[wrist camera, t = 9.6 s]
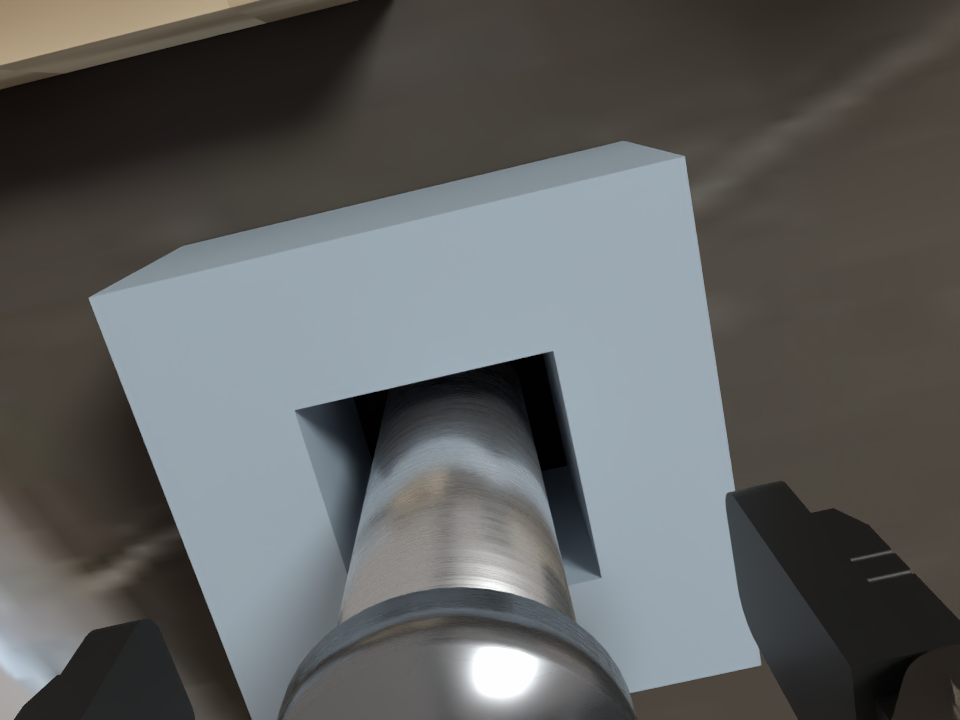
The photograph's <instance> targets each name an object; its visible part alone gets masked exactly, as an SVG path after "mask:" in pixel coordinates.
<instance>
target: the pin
mask: <svg viewBox="0 0 960 720" xmlns="http://www.w3.org/2000/svg"><path fill="white" fill-rule="evenodd" d="M277 720H637V716H636V713H635V710H634V706H633V703H632V699H631V696H630V693H629V689H628V686H627V684H626V682H625V680H624V678H623V676H622V674H621V672H620V670H619V668H618V667H617V665H616V664H615V662H614V661H613V659H612V658H611V656H610V655H609V653H608V652H607V651H606V650H605V649H604V648H603V646H602V645H601V644H600V643H599V642H598V641H597V640H596V639H595V638H594V637H593V636H592V635H591V634H590V633H588V632H587V631H586V630H585V629H584V628H582V627H581V626H580V625H579V624H577V622H576V618H575V613H574V609H573V605H572V601H571V596H570V592H569V588H568V584H567V579H566V575H565V571H564V567H563V562H562V558H561V554H560V550H559V545H558V541H557V537H556V533H555V528H554V524H553V520H552V516H551V511H550V507H549V503H548V499H547V494H546V490H545V486H544V482H543V477H542V473H541V469H540V465H539V460H538V456H537V452H536V448H535V443H534V439H533V435H532V431H531V426H530V422H529V418H528V414H527V409H526V405H525V401H524V397H523V392H522V388H521V384H520V381H519V378H518V375H517V373H516V371H515V369H514V368H513V366H512V364H511V363H510V362H509V361H507V362H502V363H498V364H494V365H489V366H485V367H481V368H476V369H472V370H468V371H463V372H459V373H455V374H450V375H446V376H441V377H437V378H433V379H428V380H424V381H420V382H415V383H411V384H407V385H402V386H398V387H394V388H389V391H388V395H387V400H386V404H385V409H384V413H383V418H382V422H381V427H380V431H379V436H378V440H377V445H376V450H375V454H374V459H373V463H372V468H371V472H370V477H369V481H368V486H367V490H366V495H365V499H364V504H363V508H362V513H361V517H360V522H359V526H358V531H357V535H356V540H355V544H354V549H353V553H352V558H351V562H350V567H349V572H348V576H347V581H346V585H345V590H344V594H343V599H342V603H341V608H340V612H339V617H338V621H337V626H336V628H334V629H333V630H332V631H330V632H329V633H328V634H327V635H326V636H325V637H324V638H323V639H322V640H321V641H320V642H319V643H318V644H317V645H316V646H315V647H313V648H312V650H311V651H310V652H309V653H308V655H307V656H306V657H305V659H304V660H303V661H302V663H301V664H300V665H299V667H298V668H297V670H296V672H295V674H294V676H293V677H292V679H291V681H290V683H289V685H288V687H287V690H286V693H285V695H284V698H283V701H282V704H281V707H280V711H279V714H278V718H277Z"/></svg>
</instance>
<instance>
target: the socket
mask: <svg viewBox="0 0 960 720" xmlns="http://www.w3.org/2000/svg"><path fill="white" fill-rule="evenodd" d="M89 301H90V303H91V306H92V308H93V311H94V313H95V316H96V319H97V321H98V324H99V326H100V329H101V332H102V334H103V337H104V339H105V342H106V344H107V347H108V350H109V352H110V355H111V357H112V360H113V362H114V365H115V368H116V370H117V373H118V375H119V378H120V381H121V383H122V386H123V388H124V391H125V393H126V396H127V399H128V401H129V404H130V406H131V409H132V411H133V414H134V417H135V419H136V422H137V424H138V427H139V430H140V432H141V435H142V437H143V440H144V442H145V445H146V448H147V450H148V453H149V455H150V458H151V460H152V463H153V466H154V468H155V471H156V473H157V476H158V479H159V481H160V484H161V486H162V489H163V491H164V494H165V497H166V499H167V502H168V504H169V507H170V509H171V512H172V515H173V517H174V520H175V522H176V525H177V528H178V530H179V533H180V535H181V538H182V540H183V543H184V546H185V548H186V551H187V553H188V556H189V559H190V561H191V564H192V566H193V569H194V571H195V574H196V577H197V579H198V582H199V584H200V587H201V589H202V592H203V595H204V597H205V600H206V602H207V605H208V608H209V610H210V613H211V615H212V618H213V620H214V623H215V626H216V628H217V631H218V633H219V636H220V638H221V641H222V644H223V646H224V649H225V651H226V654H227V657H228V659H229V662H230V664H231V667H232V669H233V672H234V675H235V677H236V680H237V682H238V685H239V687H240V690H241V693H242V695H243V698H244V700H245V703H246V706H247V708H248V711H249V713H250V716H251V718H252V720H277V718H278V714H279V711H280V707H281V704H282V701H283V698H284V695H285V693H286V690H287V687H288V685H289V683H290V681H291V679H292V677H293V676H294V674H295V672H296V670H297V668H298V667H299V665H300V664H301V663H302V661H303V660H304V659H305V657H306V656H307V655H308V653H309V652H310V651H311V650H312V648H313V647H315V646H316V645H317V644H318V643H319V642H320V641H321V640H322V639H323V638H324V637H325V636H326V635H327V634H328V633H329V632H330V631H332V630H333V629H334V628H336V626H337V621H338V617H339V612H340V608H341V603H342V599H343V594H344V590H345V585H346V581H347V576H348V572H349V567H350V562H351V558H352V553H353V549H354V544H355V540H356V535H357V531H358V526H359V522H360V517H361V513H362V508H363V504H364V499H365V495H366V490H367V486H368V481H369V477H370V472H371V468H372V463H373V462H372V459H371V455H370V452H369V448H368V445H367V442H366V438H365V435H364V432H363V428H362V425H361V422H360V418H359V415H358V411H357V408H356V405H355V401H354V398H353V397H354V396H359V395H363V394H367V393H372V392H376V391H380V390H385V389H389V388H394V387H398V386H402V385H407V384H411V383H415V382H420V381H424V380H428V379H433V378H437V377H441V376H446V375H450V374H455V373H459V372H463V371H468V370H472V369H476V368H481V367H485V366H489V365H494V364H498V363H502V362H507V361H511V360H516V359H520V358H524V357H529V356H533V355H537V354H542V353H543V357H544V362H545V366H546V371H547V376H548V380H549V385H550V389H551V394H552V399H553V403H554V408H555V412H556V417H557V422H558V426H559V431H560V435H561V440H562V445H563V449H564V454H565V458H566V463H567V466H563V467H558V468H554V469H549V470H545V471H541V473H542V477H543V482H544V486H545V490H546V494H547V499H548V503H549V507H550V511H551V516H552V520H553V524H554V528H555V533H556V537H557V541H558V545H559V550H560V554H561V558H562V562H563V567H564V571H565V575H566V579H567V584H568V588H569V592H570V596H571V601H572V605H573V609H574V613H575V618H576V622H577V624H579V625H580V626H581V627H582V628H584V629H585V630H586V631H587V632H588V633H590V634H591V635H592V636H593V637H594V638H595V639H596V640H597V641H598V642H599V643H600V644H601V645H602V646H603V648H604V649H605V650H606V651H607V652H608V653H609V655H610V656H611V658H612V659H613V661H614V662H615V664H616V665H617V667H618V668H619V670H620V672H621V674H622V676H623V678H624V680H625V682H626V684H627V686H628V689H629V693H633V692H637V691H642V690H647V689H651V688H656V687H661V686H666V685H670V684H675V683H680V682H684V681H689V680H694V679H699V678H703V677H708V676H713V675H718V674H722V673H727V672H732V671H736V670H741V669H746V668H751V667H755V666H760V665H761V660H760V654H759V647H758V645H757V644H756V642H755V640H754V638H753V636H752V634H751V631H750V629H749V627H748V624H747V621H746V618H745V615H744V612H743V609H742V605H741V601H740V597H739V592H738V586H737V579H736V573H735V566H734V559H733V553H732V546H731V539H730V533H729V526H728V520H727V513H726V504H725V498H726V494H727V493H728V492H732V491H735V487H734V481H733V474H732V467H731V461H730V454H729V448H728V441H727V434H726V428H725V421H724V414H723V408H722V401H721V394H720V388H719V381H718V374H717V368H716V361H715V354H714V348H713V341H712V334H711V328H710V321H709V315H708V308H707V301H706V295H705V288H704V281H703V275H702V268H701V261H700V255H699V248H698V241H697V235H696V228H695V221H694V215H693V208H692V202H691V195H690V188H689V182H688V175H687V168H686V162H685V156H682V155H678V154H674V153H670V152H666V151H662V150H658V149H654V148H650V147H646V146H642V145H638V144H634V143H630V142H626V141H621V142H616V143H612V144H608V145H604V146H600V147H595V148H591V149H587V150H583V151H579V152H575V153H570V154H566V155H562V156H558V157H554V158H549V159H545V160H541V161H537V162H533V163H528V164H524V165H520V166H516V167H512V168H508V169H503V170H499V171H495V172H491V173H487V174H482V175H478V176H474V177H470V178H466V179H462V180H457V181H453V182H449V183H445V184H441V185H436V186H432V187H428V188H424V189H420V190H415V191H411V192H407V193H403V194H399V195H395V196H390V197H386V198H382V199H378V200H374V201H369V202H365V203H361V204H357V205H353V206H349V207H344V208H340V209H336V210H332V211H328V212H323V213H319V214H315V215H311V216H307V217H302V218H298V219H294V220H290V221H286V222H282V223H277V224H273V225H269V226H265V227H261V228H256V229H252V230H248V231H244V232H240V233H236V234H231V235H227V236H223V237H219V238H215V239H210V240H206V241H202V242H198V243H194V244H189V245H185V246H182V247H180V248H179V249H177V250H175V251H173V252H171V253H169V254H168V255H166V256H164V257H162V258H160V259H158V260H157V261H155V262H153V263H151V264H149V265H147V266H146V267H144V268H142V269H140V270H138V271H137V272H135V273H133V274H131V275H129V276H127V277H126V278H124V279H122V280H120V281H118V282H116V283H115V284H113V285H111V286H109V287H107V288H106V289H104V290H102V291H100V292H98V293H96V294H95V295H93V296H91V297H89Z"/></svg>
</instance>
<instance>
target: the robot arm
mask: <svg viewBox="0 0 960 720" xmlns="http://www.w3.org/2000/svg"><path fill="white" fill-rule="evenodd" d="M725 504H726V513H727V520H728V526H729V533H730V539H731V546H732V553H733V559H734V566H735V573H736V579H737V586H738V592H739V597H740V601H741V605H742V609H743V612H744V615H745V618H746V621H747V624H748V627H749V629H750V631H751V634H752V636H753V638H754V640H755V642H756V644H757V645H758V647H759V649H760V651H761V653H762V654H763V656H764V658H765V660H766V662H767V664H768V665H769V667H770V669H771V671H772V673H773V675H774V676H775V678H776V680H777V682H778V684H779V685H780V687H781V689H782V691H783V693H784V695H785V696H786V698H787V700H788V702H789V704H790V705H791V707H792V709H793V711H794V713H795V715H796V716H797V718H798V720H960V620H959V619H958V618H957V617H956V616H955V615H954V614H953V613H952V612H951V611H950V610H949V609H948V608H947V607H946V606H945V605H944V604H943V603H942V601H941V600H940V599H939V598H938V597H937V596H936V595H935V594H934V593H933V592H932V591H931V590H930V589H929V588H928V587H927V586H926V585H925V584H924V583H923V582H922V581H921V579H920V578H919V577H918V576H917V575H916V574H912V573H911V571H910V568H909V567H908V566H907V565H906V564H905V563H904V562H903V561H902V560H901V559H900V557H899V556H898V555H897V554H896V553H894V554H893V553H892V551H891V548H890V547H889V546H888V545H887V544H886V543H885V542H884V541H883V540H882V539H881V538H880V537H879V535H878V534H877V533H876V532H875V531H874V530H873V529H872V528H871V527H870V526H869V525H868V524H865V523H863V522H861V521H859V520H857V519H855V518H853V517H851V516H849V515H847V514H844V513H842V512H840V511H838V510H836V509H834V508H832V509H828V510H823V511H819V512H814V513H810V511H809V510H808V509H807V508H806V507H805V506H804V504H803V503H802V502H801V501H800V500H799V498H798V497H797V496H796V495H795V494H794V492H793V491H792V490H791V489H790V488H789V487H788V485H787V484H786V483H785V482H783V481H778V482H773V483H769V484H764V485H760V486H755V487H751V488H746V489H741V490H737V491H732V492H728V493H727V494H726V498H725ZM14 720H195V717H194V712H193V708H192V706H191V703H190V701H189V698H188V696H187V693H186V691H185V689H184V686H183V684H182V681H181V679H180V677H179V674H178V672H177V670H176V667H175V665H174V662H173V660H172V658H171V655H170V653H169V650H168V648H167V646H166V643H165V641H164V639H163V636H162V634H161V632H160V630H159V628H158V627H157V625H156V624H155V623H154V622H153V621H151V620H149V619H142V620H137V621H133V622H128V623H124V624H119V625H114V626H110V627H105V628H101V629H96V630H93V631H91V632H90V633H89V634H88V635H87V636H86V637H85V639H84V640H83V642H82V643H81V645H80V646H79V648H78V649H77V651H76V652H75V654H74V655H73V657H72V658H71V660H70V661H69V663H68V664H67V666H66V667H65V669H64V670H63V672H62V673H61V675H57V676H56V677H55V678H54V679H52V680H51V681H50V682H49V683H48V684H47V685H46V686H45V687H44V688H43V689H41V690H40V691H39V692H38V693H37V694H36V695H35V696H34V697H33V698H32V699H30V701H28V702H27V703H26V704H25V705H24V706H23V707H22V709H21V710H20V712H19V713H18V714H17V716H16V717H15V719H14Z"/></svg>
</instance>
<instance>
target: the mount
mask: <svg viewBox="0 0 960 720" xmlns="http://www.w3.org/2000/svg"><path fill="white" fill-rule="evenodd" d="M353 1H357V0H0V89H4V88H8V87H12V86H16V85H20V84H24V83H28V82H32V81H36V80H40V79H44V78H48V77H52V76H56V75H60V74H64V73H68V72H72V71H76V70H80V69H84V68H88V67H92V66H96V65H100V64H105V63H109V62H113V61H117V60H121V59H125V58H129V57H133V56H137V55H141V54H145V53H149V52H153V51H157V50H161V49H165V48H169V47H173V46H177V45H181V44H185V43H189V42H193V41H197V40H201V39H205V38H209V37H213V36H217V35H221V34H225V33H229V32H233V31H237V30H241V29H245V28H249V27H253V26H257V25H261V24H265V23H269V22H273V21H277V20H281V19H285V18H289V17H293V16H297V15H301V14H305V13H309V12H313V11H317V10H321V9H325V8H329V7H333V6H337V5H341V4H345V3H349V2H353Z"/></svg>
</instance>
